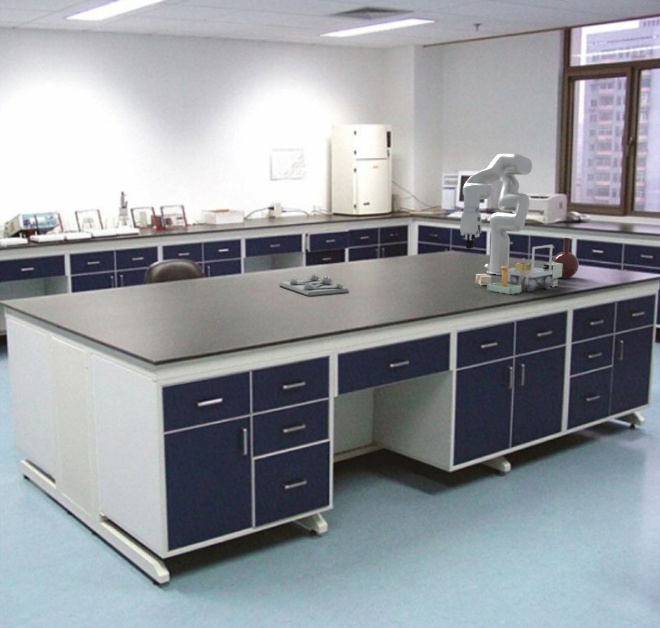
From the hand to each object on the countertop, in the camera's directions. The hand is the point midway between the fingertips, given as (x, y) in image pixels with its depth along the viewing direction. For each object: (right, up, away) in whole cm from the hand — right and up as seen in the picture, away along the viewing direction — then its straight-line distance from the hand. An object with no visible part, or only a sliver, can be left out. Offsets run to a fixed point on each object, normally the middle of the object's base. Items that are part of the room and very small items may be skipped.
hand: (469, 248), depth 427 cm
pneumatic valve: (+38, -19, -8) cm, 43 cm away
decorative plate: (-75, -21, -21) cm, 81 cm away
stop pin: (+12, -21, -23) cm, 33 cm away
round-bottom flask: (+50, -14, +17) cm, 55 cm away
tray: (+12, -22, -22) cm, 34 cm away
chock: (+6, -18, -3) cm, 19 cm away
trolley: (+25, -20, -14) cm, 35 cm away
